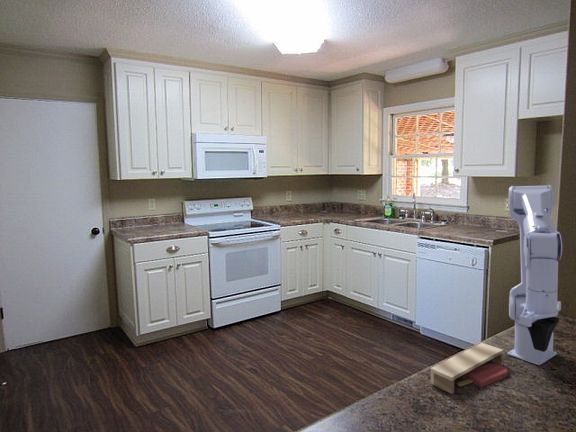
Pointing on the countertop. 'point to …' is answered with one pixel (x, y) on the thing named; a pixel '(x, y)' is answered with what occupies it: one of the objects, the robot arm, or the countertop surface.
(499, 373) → the popsicle
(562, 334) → the countertop surface
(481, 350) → the rail
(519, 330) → the robot arm
